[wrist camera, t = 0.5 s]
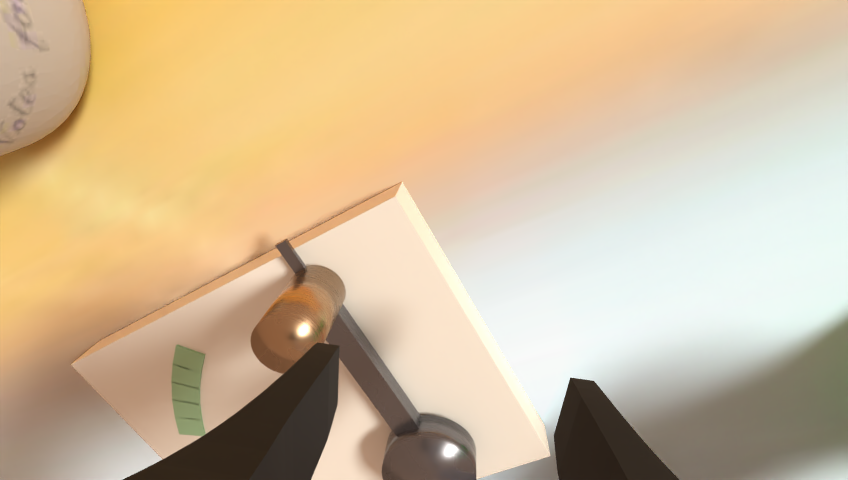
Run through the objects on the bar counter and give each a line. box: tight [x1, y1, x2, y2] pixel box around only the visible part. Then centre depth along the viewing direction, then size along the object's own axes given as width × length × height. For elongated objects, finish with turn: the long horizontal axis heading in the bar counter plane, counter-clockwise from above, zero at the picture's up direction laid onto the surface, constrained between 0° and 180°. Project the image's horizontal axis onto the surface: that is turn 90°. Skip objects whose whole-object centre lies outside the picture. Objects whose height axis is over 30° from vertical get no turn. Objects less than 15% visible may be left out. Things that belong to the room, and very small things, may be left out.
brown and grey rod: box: [250, 239, 476, 480], centre depth 20 cm, size 15×4×4 cm, turn 29°
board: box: [71, 182, 550, 480], centre depth 24 cm, size 15×19×2 cm
